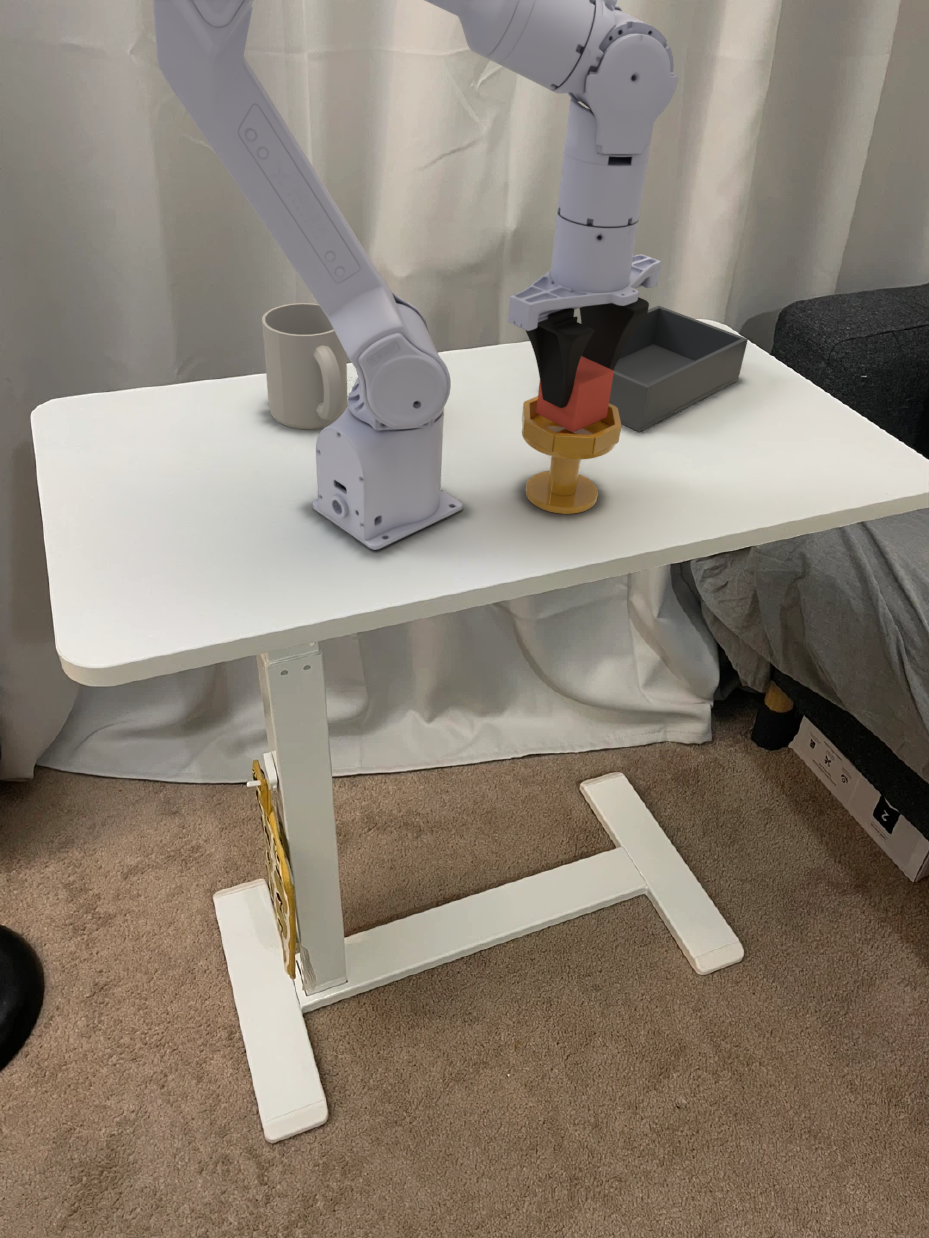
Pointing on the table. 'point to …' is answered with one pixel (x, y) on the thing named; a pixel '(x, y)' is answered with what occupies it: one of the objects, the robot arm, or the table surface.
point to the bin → (672, 366)
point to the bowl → (566, 458)
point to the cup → (304, 366)
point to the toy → (582, 398)
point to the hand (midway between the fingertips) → (573, 394)
